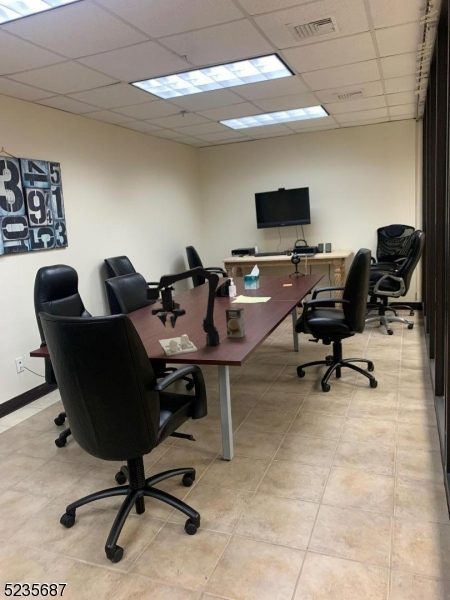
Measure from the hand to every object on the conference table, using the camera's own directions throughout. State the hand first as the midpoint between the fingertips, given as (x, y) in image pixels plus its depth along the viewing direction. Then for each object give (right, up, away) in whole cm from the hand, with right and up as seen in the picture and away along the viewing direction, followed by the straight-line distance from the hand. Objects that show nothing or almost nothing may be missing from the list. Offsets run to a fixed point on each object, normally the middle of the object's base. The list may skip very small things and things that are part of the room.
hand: (169, 327), depth 238 cm
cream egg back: (+8, -10, +4) cm, 14 cm away
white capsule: (+3, -12, -5) cm, 14 cm away
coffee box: (+36, -6, +20) cm, 41 cm away
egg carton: (+3, -11, +7) cm, 13 cm away
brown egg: (0, -2, 0) cm, 2 cm away
